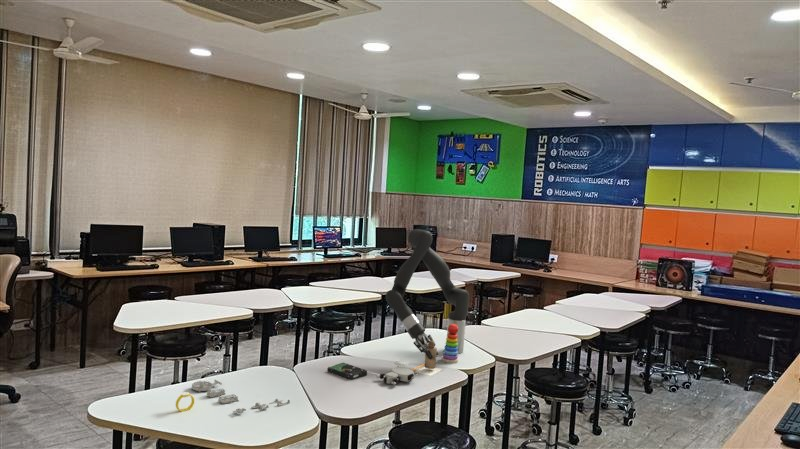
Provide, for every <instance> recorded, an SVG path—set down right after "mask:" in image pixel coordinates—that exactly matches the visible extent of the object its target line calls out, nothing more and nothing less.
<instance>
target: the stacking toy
mask: <svg viewBox="0 0 800 449" xmlns="http://www.w3.org/2000/svg"><path fill="white" fill-rule="evenodd" d="M447 327H448V326H447ZM448 331H449V333H448V334H447V333H446V339H445V345H444V350H443V353H442V357H441V361H442V362H444V363H448V364H457V363H458V362H459V359H458V358H459V355H458V354H459V353H458V351H457V350H458V347H457V345H458V343H457V339H456V338H457V337H458V336H457V334H456V333H457V332H458V326H457V325H455V324H451V325H449V327H448Z"/></svg>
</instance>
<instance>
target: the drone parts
mask: <svg viewBox="0 0 800 449" xmlns="http://www.w3.org/2000/svg"><path fill="white" fill-rule="evenodd" d="M217 384H219V385H222V382H220V381H218V380H217V379H214V382H210V381H207V380H203V381H202V380H200V381H195V382H193V383H192V384H191V389H192V390H193V391H196V392H197V391H198V393H201V392H206V396H208V397H210V398H213V397H214V398H215V397H216V398H217V399H218V401H217V402H219V403H220V404H228V405H229V404H232V403H234V402H237V401H238V402H239V396H237V395H236V394H235V393H233V394H227V395H226V392H227V390H226V389H224V388H219V389H218V388H217V389H216V390H215V389H213V388H212V387H214V386H216V385H217ZM222 395H223V396H222ZM283 401H284V399H283V400H280V399H279V398H275V401H273V402H269V403H268V404H266V403H263V404H261V403H260V402H256V403H255V405H253V406H251V408H252V409H259V410H267V409H269V405H272V404H276V405H277V406H278V407H280V406H285V405H288V404H290V403H291V401H290V399H288V400H287V401H286V402H283ZM245 411H247V409H246V408H245V407H241V408H239V407H238V408H237V409H236V408H235V410H232V413H238V414H243V413H244V412H245Z"/></svg>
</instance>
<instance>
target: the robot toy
mask: <svg viewBox="0 0 800 449" xmlns="http://www.w3.org/2000/svg"><path fill="white" fill-rule="evenodd" d="M418 375H419V373H417V372H416V374H415V372H414V371H412V369H410V368H408V367H404V366H400V365H397V366H396V367H394V368H392V369H390V372H387V373H380V374H377V375H376V378H377V379H381V380H382V379H383V382H384V383H386V384H389V385H395V386H396V385H398V383H399V382H400V381H401V382H405V383H408V382H410V381H412V380H414V378H415V377H416V376H418Z"/></svg>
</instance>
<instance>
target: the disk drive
mask: <svg viewBox="0 0 800 449" xmlns="http://www.w3.org/2000/svg"><path fill="white" fill-rule="evenodd" d="M326 369H327V370H326V371H328V372H327V373H329V372H330V374H332V373H333V375H335V376H336V377H337V376H338V377H341V378H343V379H345V380H349V381H354V380H357V379H361V378H363V377H366V376H367V375H368V370H367V369H363V368H360V367H357V366H354V365H352V364H349V363H345V362H341V363H337V364H334V365H332V366H327V368H326Z"/></svg>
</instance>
